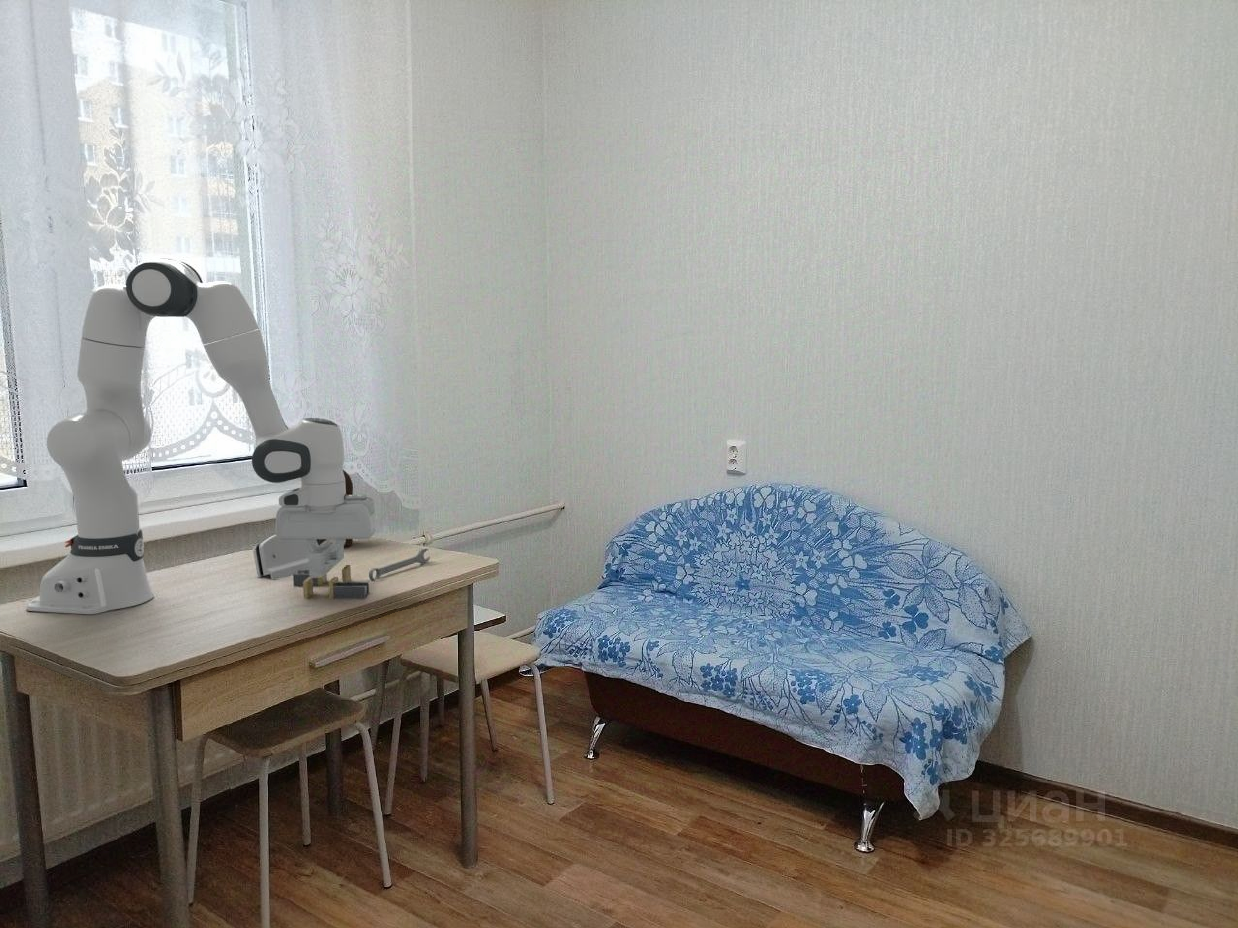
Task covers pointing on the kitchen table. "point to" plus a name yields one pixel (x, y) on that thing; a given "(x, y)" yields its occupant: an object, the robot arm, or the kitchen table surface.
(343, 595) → the ball bearing track
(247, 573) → the kitchen table surface
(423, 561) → the combination wrench
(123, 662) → the kitchen table surface
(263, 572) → the hinge
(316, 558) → the long grey beam
